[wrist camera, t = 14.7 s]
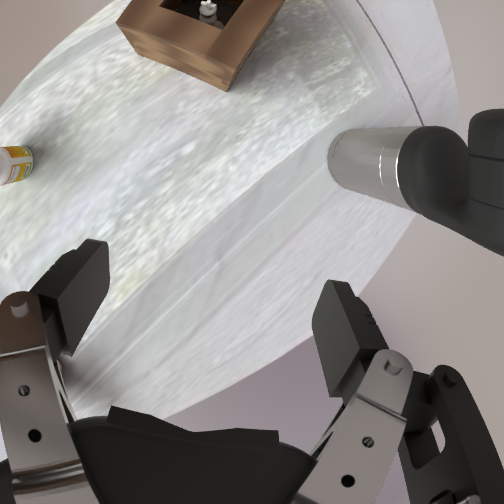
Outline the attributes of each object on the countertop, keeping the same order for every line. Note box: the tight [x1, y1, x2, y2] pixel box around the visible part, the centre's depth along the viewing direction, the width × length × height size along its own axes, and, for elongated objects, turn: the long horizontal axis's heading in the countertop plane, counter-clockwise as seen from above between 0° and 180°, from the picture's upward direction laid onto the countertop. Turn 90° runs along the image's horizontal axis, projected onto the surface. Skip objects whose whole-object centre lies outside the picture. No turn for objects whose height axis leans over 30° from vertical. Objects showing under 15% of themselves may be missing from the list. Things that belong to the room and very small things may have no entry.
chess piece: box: [199, 0, 224, 30], centre depth 28 cm, size 5×5×10 cm
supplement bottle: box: [0, 146, 33, 186], centre depth 29 cm, size 5×5×10 cm
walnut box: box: [116, 0, 285, 92], centre depth 27 cm, size 14×14×12 cm
